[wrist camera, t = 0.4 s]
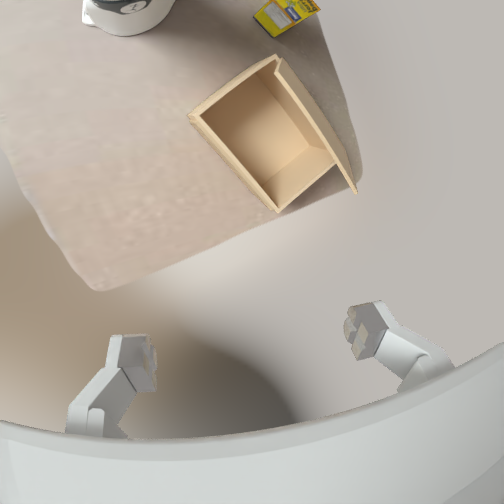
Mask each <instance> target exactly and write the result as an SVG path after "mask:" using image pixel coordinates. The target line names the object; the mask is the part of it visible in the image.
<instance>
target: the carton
mask: <svg viewBox="0 0 504 504" xmlns="http://www.w3.org/2000/svg"><path fill="white" fill-rule="evenodd" d="M279 60H280V58H279V57H278V56H277V55H276V54H274V55H272V56H270V57H268V58H266V59H263V60H261V61H259V62H257V63H255V64H253V65H252V66H250V67H249V68H247V69H246V70H244V71H243V72H242V73H240V74H239V75H237V76H236V77H235V78H233V79H232V80H231V81H229V82H228V83H227V84H225V85H224V86H223V87H221V88H220V89H219V90H217V91H216V92H215V93H214V94H212V95H211V96H210V97H209V98H207V99H206V100H205V101H204V102H202V103H201V104H200V105H199V106H198V107H196V108H195V109H194V110H193V111H192V112H190V113H189V114H188V115H187V116H188V117H189V118H190V121H189V122H190V123H191V125H192V126H193V127H194V128H195V129H196V130H197V131H198V132H199V133H200V134H201V136H202V137H203V138H204V139H205V140H206V141H207V142H208V143H209V144H210V146H211V147H212V148H213V149H214V150H215V151H216V152H217V153H218V155H219V156H220V157H221V158H222V159H223V160H224V161H225V162H226V164H227V165H228V166H229V167H230V168H231V169H232V170H233V172H234V173H235V174H236V175H237V176H238V177H239V178H240V180H241V181H242V182H243V183H244V184H245V185H246V187H247V188H248V189H249V190H250V191H251V192H252V193H253V194H254V195H255V196H256V197H257V198H258V199H259V200H260V201H261V202H262V203H263V204H264V205H265V206H266V207H268V208H269V209H270V210H271V211H273V210H274V211H275V212H276V213H277V214H278V213H279V212H280V211H282V210H283V209H284V208H285V207H286V206H287V205H288V204H290V203H291V202H292V201H293V200H294V199H295V198H297V197H298V196H299V195H300V194H301V193H302V192H303V191H305V190H306V189H307V188H308V187H309V186H310V185H312V184H313V183H314V182H315V181H316V180H317V179H319V178H320V177H321V176H322V175H323V174H324V173H326V172H327V171H328V170H329V169H330V168H331V167H333V166H334V165H335V164H336V162H335V161H334V159H333V157H332V156H331V154H330V153H329V151H328V149H327V148H326V146H325V145H324V143H323V142H322V140H321V139H320V137H319V135H318V134H317V132H316V131H315V129H314V128H313V126H312V125H311V124H310V122H309V121H308V119H307V118H306V116H305V115H304V113H303V112H302V111H301V109H300V108H299V106H298V105H297V104H296V102H295V101H294V99H293V98H292V97H291V95H290V94H289V93H288V91H287V90H286V88H285V87H284V86H283V85H282V83H281V82H280V81H279V79H278V78H277V77H276V75H275V74H274V72H275V69H276V67H277V65H278V62H279Z"/></svg>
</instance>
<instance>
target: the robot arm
mask: <svg viewBox="0 0 504 504" xmlns="http://www.w3.org/2000/svg"><path fill="white" fill-rule="evenodd" d="M175 1H176V0H83V13H82V21H83V23H84V24H85V25H87V26H97V27H99V28H101V29H102V30H104V31H105V32H107V33H110V34H113V35H117V36H130V35H136V34H139V33H142V32H145V31H147V30H149V29H151V28H153V27H154V26H156V25H157V24H158V23H160V22H161V21H162V20H163V19H164V18H165V17H166V15H167V14H168V13H169V11H170V9H171V7H172V5H173V3H174V2H175ZM87 14H88V15H87ZM347 313H348V316H349V317H348V318H347V319H346V320H345V322H344V334H345V337H346V339H347V341H348V342H350V343H351V344H352V348H351V349H352V351H353V354H354V356H355V358H356V360H362V359H366V358H370V357H374V358H375V359H377V360H378V361H379V362H380V363H382V364H383V365H384V366H386V367H387V368H388V369H389V370H391V371H392V372H393V373H395V374H396V375H397V376H399V377H400V378H401V379H402V380H403V381H402V383H401V384H400V386H399V387H398V389H397V391H398V393H397V394H395V395H392V396H389V397H387V398H384V399H381V400H378V401H375V402H372V403H369V404H367V405H363V406H361V407H357V408H354V409H351V410H347V411H344V412H340V413H337V414H334V415H330V416H326V417H322V418H318V419H314V420H310V421H306V422H301V423H297V424H292V425H287V426H282V427H277V428H271V429H265V430H259V431H253V432H246V433H240V434H231V435H221V436H212V437H199V438H184V439H183V438H182V439H128V438H127V437H128V436H127V434H126V433H125V432H124V431H123V430H121V428H120V427H119V426H118V425H117V424H118V423H119V421H120V420H121V418H122V416H123V415H124V413H125V412H126V410H127V408H128V407H129V405H130V404H131V402H132V400H133V399H134V397H135V396H136V394H137V393H136V392H151V391H156V386H157V385H156V384H157V377H156V375H155V373H154V371H155V370H156V369H157V355H156V351H155V348H154V346H152V345H151V338H150V336H149V334H124V335H112V337H111V338H110V343H109V348H108V354H107V359H106V366H105V368H101V370H100V371H99V372H98V373H97V374H96V375H95V376H94V378H93V379H92V380H91V381H90V382H89V383H88V384H87V385H86V387H85V388H84V389H83V390H82V391H81V392H80V394H79V395H78V396H77V397H76V398H75V399H74V401H73V402H72V403H71V404H70V405H69V409H68V415H67V422H66V429H65V433H61V432H55V431H49V430H43V429H38V428H33V427H29V426H24V425H20V424H15V423H12V422H8V421H4V420H0V504H504V342H503V343H499V344H497V345H496V346H494V347H493V348H491V349H489V350H487V351H486V352H484V353H482V354H480V355H479V356H477V357H475V358H474V359H471V360H470V361H468V362H466V363H464V364H462V365H460V366H458V367H456V368H455V367H454V365H453V364H452V362H451V360H450V359H449V357H448V356H447V354H446V353H445V351H444V350H443V348H442V347H440V346H438V345H436V344H435V343H433V342H431V341H429V340H428V339H426V338H424V337H422V336H420V335H418V334H417V333H415V332H413V331H412V330H410V329H408V328H406V327H404V326H403V325H401V326H399V324H398V323H397V322H396V320H395V319H394V317H393V315H392V314H391V312H390V311H389V309H388V308H387V307H386V305H385V304H384V302H383V301H381V300H379V301H375V302H371V303H365V304H360V305H356V306H351V307H350V308H349V309H348V312H347Z"/></svg>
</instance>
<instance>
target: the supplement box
mask: <svg viewBox="0 0 504 504" xmlns="http://www.w3.org/2000/svg"><path fill="white" fill-rule="evenodd" d="M319 10H321V9H320V8H319V7H318V6H317V5H316V4H315V3H314V1H313V0H270V1H269V2H268V3H267V4H266V5H264V6H263V7H262V8H261V9H260V10H259V11H258V12H257V13H256V14H255V15H254V16H253V18H254V19H255V20H256V21H257V22H258V23H259V24H260V25H261V26H262V27H263V28H264V29H265V30H266V31H267V33H268V34H269V35H270V36H271V37H272V38H274V37H276V36H278V35H279V34H281V33H282V32H284V31H286V30H288V29H289V28H291V27H293V26H294V25H296V24H298V23H299V22H301V21H303V20H304V19H306V18H308V17H309V16H311V15H313V14H314V13H316V12H318V11H319Z"/></svg>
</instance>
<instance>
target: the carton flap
mask: <svg viewBox="0 0 504 504" xmlns="http://www.w3.org/2000/svg"><path fill="white" fill-rule="evenodd" d="M274 74H275V75H276V77H277V78H278V79H279V81H280V82H281V83H282V85H283V86H284V87H285V88H286V90H287V91H288V93H289V94H290V95H291V97H292V98H293V99H294V101H295V102H296V104H297V105H298V106H299V108H300V109H301V111H302V112H303V113H304V115H305V116H306V118H307V119H308V121H309V122H310V124H311V125H312V126H313V128H314V129H315V131H316V132H317V134H318V135H319V137H320V139H321V140H322V142H323V143H324V145H325V146H326V148H327V149H328V151H329V153H330V154H331V156H332V157H333V159H334V161H335V162H336V164H337V165H338V167H339V169H340V170H341V172H342V174H343V175H344V177H345V179H346V181H347V182H348V184H349V186H350V187H351V189H352V191H353V192H354V194H355V195H356V194H358V191H357V187H356V184H355V180H354V177H353V173H352V170H351V166H350V163H349V160H348V157H347V154H346V150H345V148H344V147H343V145H342V143H341V142H340V140H339V138H338V137H337V135H336V133H335V132H334V130H333V129H332V127H331V125H330V124H329V122H328V121H327V119H326V118H325V116H324V114H323V113H322V111H321V110H320V108H319V107H318V105H317V104H316V102H315V101H314V99H313V98H312V97H311V95H310V94H309V92H308V91H307V89H306V88H305V87H304V85H303V84H302V82H301V81H300V80H299V78H298V77H297V75H296V74H295V73H294V71H293V70H292V69H291V67H290V66H289V65H288V63H287V62H286V61H285V59H284V58H283V57H282V58H280V60H279V62H278V65H277V67H276V69H275V72H274Z"/></svg>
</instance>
